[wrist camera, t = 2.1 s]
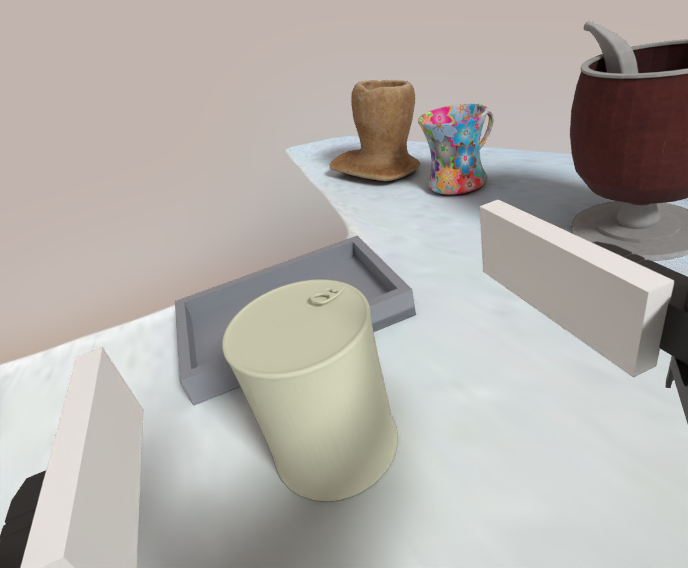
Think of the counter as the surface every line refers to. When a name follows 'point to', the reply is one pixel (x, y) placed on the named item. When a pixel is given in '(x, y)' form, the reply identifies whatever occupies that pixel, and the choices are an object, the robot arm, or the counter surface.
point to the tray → (229, 298)
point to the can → (315, 386)
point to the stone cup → (380, 131)
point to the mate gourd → (633, 144)
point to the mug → (456, 147)
